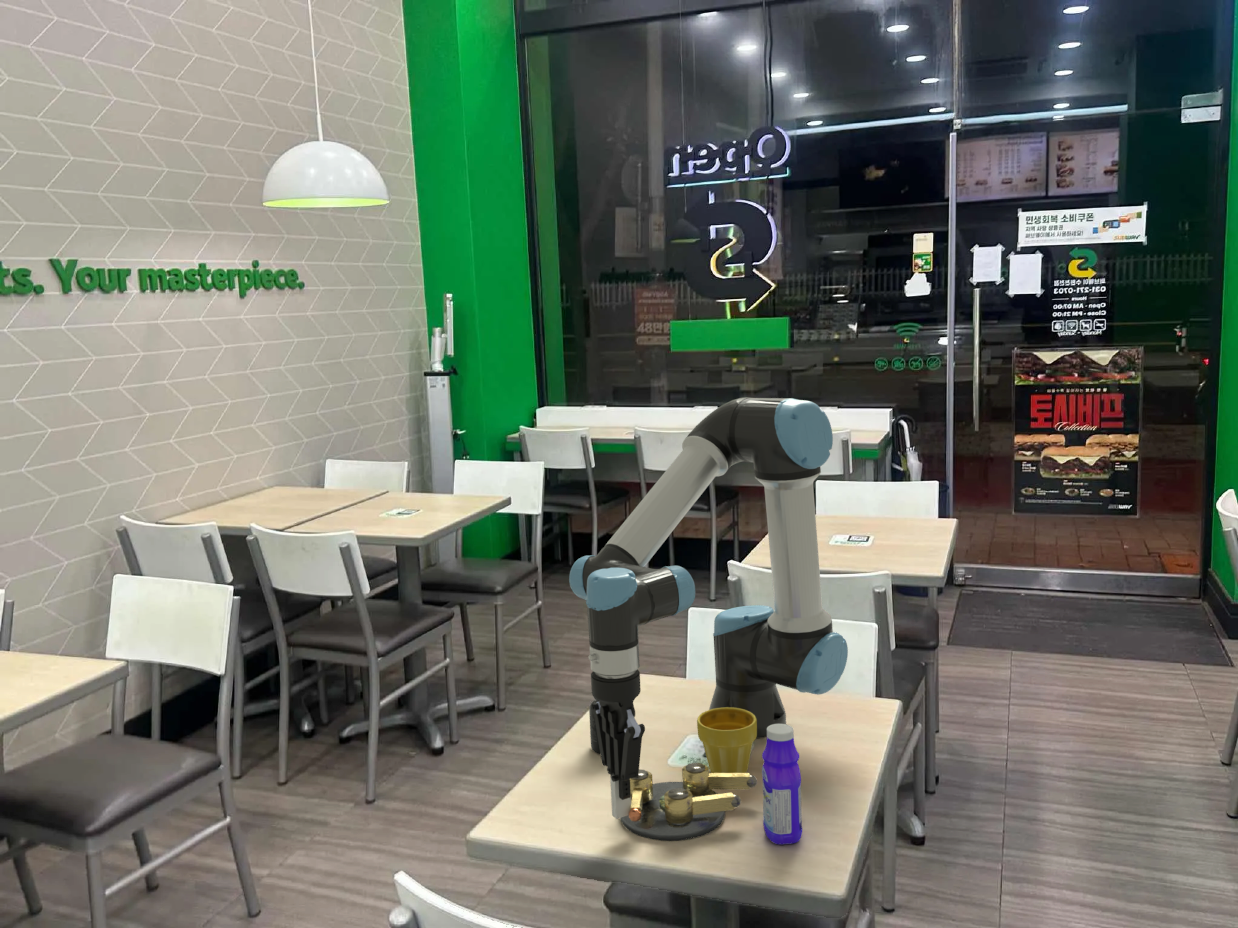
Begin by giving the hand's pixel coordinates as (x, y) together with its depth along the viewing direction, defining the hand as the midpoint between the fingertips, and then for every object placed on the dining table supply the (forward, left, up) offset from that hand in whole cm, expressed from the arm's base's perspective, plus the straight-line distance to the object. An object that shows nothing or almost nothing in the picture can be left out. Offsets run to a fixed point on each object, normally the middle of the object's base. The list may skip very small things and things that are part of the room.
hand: (621, 814), depth 161 cm
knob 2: (-13, +1, -1) cm, 13 cm away
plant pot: (-22, -18, -4) cm, 28 cm away
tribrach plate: (-9, -5, -3) cm, 11 cm away
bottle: (-24, +6, -4) cm, 25 cm away
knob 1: (-3, -4, -1) cm, 5 cm away
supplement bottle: (-3, -33, -4) cm, 33 cm away
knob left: (-17, -6, -1) cm, 19 cm away
